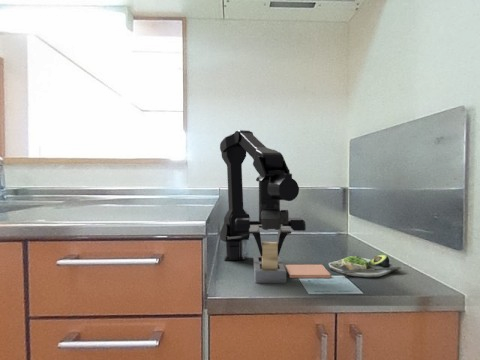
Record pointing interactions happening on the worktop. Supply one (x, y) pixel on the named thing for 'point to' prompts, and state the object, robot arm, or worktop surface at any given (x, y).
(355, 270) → the salad plate
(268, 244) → the maple peg
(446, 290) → the worktop surface
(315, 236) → the worktop surface
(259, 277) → the grey slotted holder
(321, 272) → the terracotta tile
